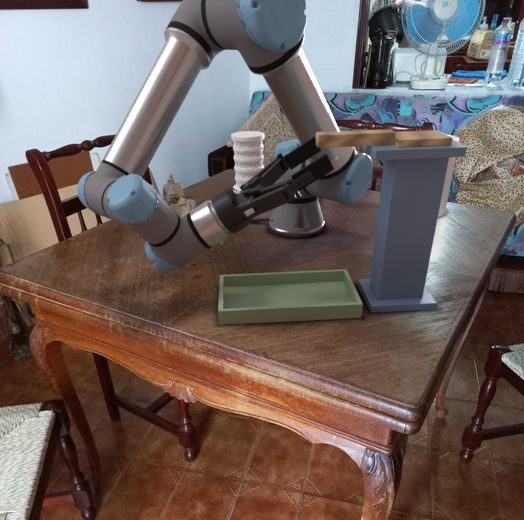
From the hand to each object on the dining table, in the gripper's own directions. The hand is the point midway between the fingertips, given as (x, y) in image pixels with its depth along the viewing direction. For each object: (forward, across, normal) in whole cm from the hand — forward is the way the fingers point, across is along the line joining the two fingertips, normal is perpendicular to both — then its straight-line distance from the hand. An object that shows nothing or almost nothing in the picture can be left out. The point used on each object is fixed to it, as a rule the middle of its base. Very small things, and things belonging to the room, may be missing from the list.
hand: (323, 151), depth 81 cm
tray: (-20, 0, -22) cm, 30 cm away
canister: (+18, -53, -45) cm, 72 cm away
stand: (-2, 0, -33) cm, 33 cm away
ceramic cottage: (-45, -42, -8) cm, 62 cm away
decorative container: (-25, -81, -20) cm, 87 cm away
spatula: (+9, 0, -4) cm, 10 cm away
